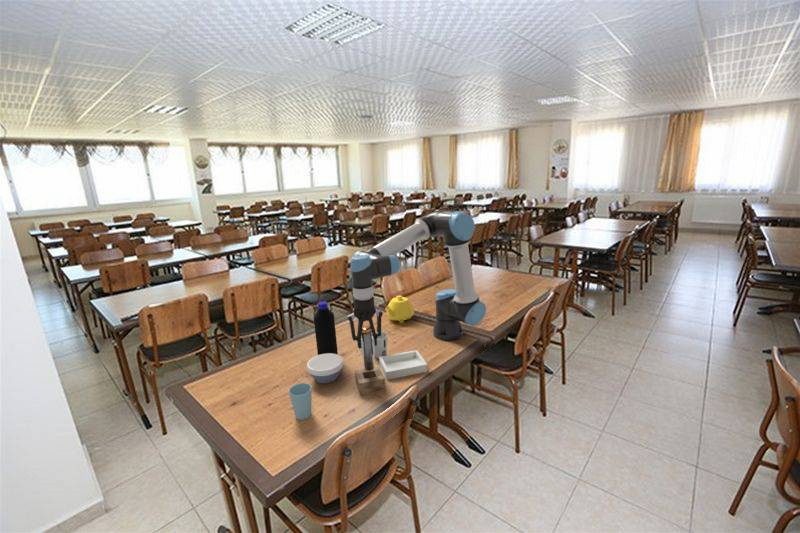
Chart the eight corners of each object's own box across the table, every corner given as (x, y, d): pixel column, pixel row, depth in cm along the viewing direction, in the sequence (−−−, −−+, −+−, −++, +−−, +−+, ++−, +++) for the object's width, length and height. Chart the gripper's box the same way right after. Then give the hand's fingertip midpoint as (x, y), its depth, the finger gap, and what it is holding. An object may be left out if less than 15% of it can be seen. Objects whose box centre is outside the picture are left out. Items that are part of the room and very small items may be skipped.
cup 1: (308, 405, 137) (304, 380, 134) (318, 415, 131) (315, 388, 129) (288, 415, 132) (284, 389, 129) (298, 425, 126) (294, 398, 124)
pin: (374, 364, 148) (371, 324, 144) (376, 370, 144) (373, 329, 140) (362, 366, 147) (358, 326, 143) (364, 372, 143) (360, 331, 138)
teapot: (398, 329, 198) (397, 305, 195) (376, 323, 208) (374, 300, 204) (419, 317, 213) (418, 294, 210) (398, 311, 223) (397, 290, 219)
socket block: (379, 377, 153) (379, 366, 152) (385, 390, 144) (384, 378, 143) (355, 381, 151) (354, 370, 150) (359, 395, 141) (358, 383, 140)
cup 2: (386, 360, 166) (384, 340, 164) (368, 359, 168) (367, 339, 166) (390, 351, 174) (389, 332, 172) (373, 351, 176) (372, 331, 173)
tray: (417, 356, 168) (417, 350, 168) (427, 371, 156) (427, 364, 155) (379, 363, 164) (378, 356, 163) (386, 379, 151) (386, 372, 150)
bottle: (342, 358, 170) (336, 300, 163) (330, 367, 163) (324, 307, 155) (326, 355, 174) (320, 298, 167) (314, 364, 166) (307, 305, 159)
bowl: (327, 391, 145) (325, 374, 143) (301, 382, 152) (299, 365, 151) (351, 374, 157) (350, 357, 155) (325, 366, 164) (324, 350, 162)
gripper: (383, 291, 144) (386, 346, 150) (339, 296, 139) (345, 353, 145) (387, 297, 137) (391, 354, 143) (342, 303, 132) (348, 362, 138)
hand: (368, 354), depth 144 cm, fingers closed on pin, 3 cm apart
